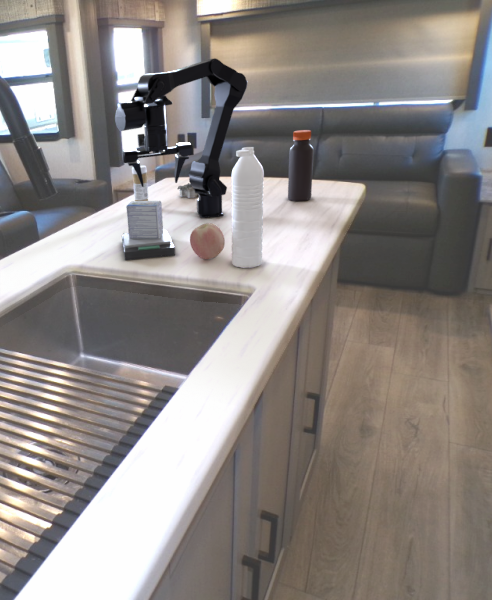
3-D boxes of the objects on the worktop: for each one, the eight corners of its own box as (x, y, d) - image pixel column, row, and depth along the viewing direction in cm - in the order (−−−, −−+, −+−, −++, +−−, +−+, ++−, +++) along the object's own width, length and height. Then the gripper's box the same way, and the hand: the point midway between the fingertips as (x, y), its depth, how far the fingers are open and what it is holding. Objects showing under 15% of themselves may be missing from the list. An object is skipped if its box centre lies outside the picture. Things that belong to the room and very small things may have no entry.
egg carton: (191, 199, 178) (191, 186, 176) (175, 196, 184) (175, 184, 182) (213, 192, 184) (213, 180, 182) (197, 189, 189) (196, 178, 188)
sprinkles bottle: (142, 206, 175) (139, 164, 170) (152, 208, 172) (149, 165, 166) (132, 209, 172) (128, 167, 167) (141, 211, 169) (138, 168, 164)
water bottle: (235, 257, 123) (235, 145, 113) (264, 259, 120) (267, 144, 110) (225, 270, 116) (224, 152, 106) (256, 273, 113) (258, 151, 103)
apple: (202, 250, 129) (201, 218, 126) (230, 255, 125) (230, 221, 121) (184, 260, 124) (182, 227, 121) (213, 265, 119) (212, 231, 116)
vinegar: (313, 196, 166) (317, 129, 158) (307, 202, 161) (311, 132, 153) (291, 195, 169) (293, 129, 161) (285, 201, 164) (287, 133, 156)
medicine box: (163, 234, 135) (161, 200, 132) (159, 239, 131) (157, 204, 128) (133, 234, 138) (131, 200, 134) (128, 239, 134) (125, 205, 131)
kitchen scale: (167, 238, 141) (167, 228, 140) (175, 255, 128) (174, 244, 127) (122, 242, 141) (121, 233, 140) (124, 260, 128) (124, 249, 127)
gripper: (185, 118, 148) (187, 175, 154) (117, 126, 148) (123, 182, 154) (192, 122, 138) (195, 182, 144) (120, 130, 138) (126, 191, 144)
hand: (159, 184), depth 147 cm, fingers open, 9 cm apart
